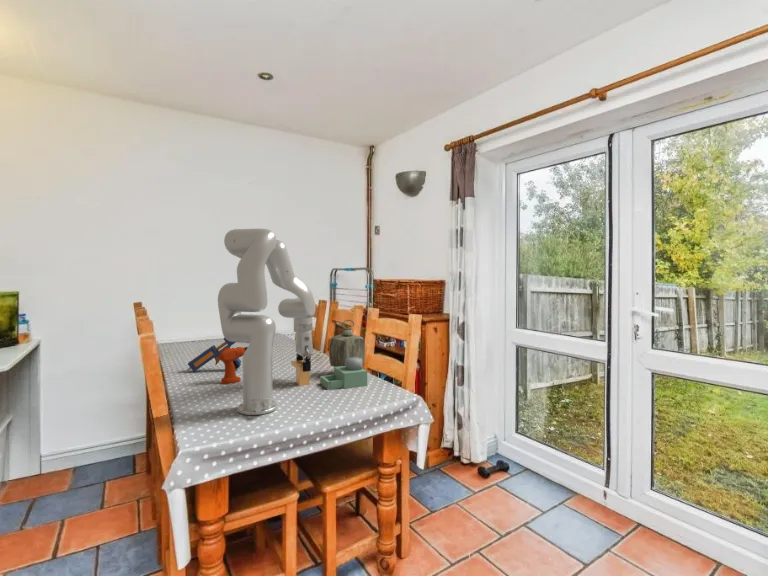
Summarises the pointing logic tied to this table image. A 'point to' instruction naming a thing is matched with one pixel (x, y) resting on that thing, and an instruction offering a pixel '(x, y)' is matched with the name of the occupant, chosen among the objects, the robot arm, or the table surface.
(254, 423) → the table surface
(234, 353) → the toy drill
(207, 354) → the glue gun
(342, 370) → the green drawer box
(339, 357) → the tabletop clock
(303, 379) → the orange rectangular block
